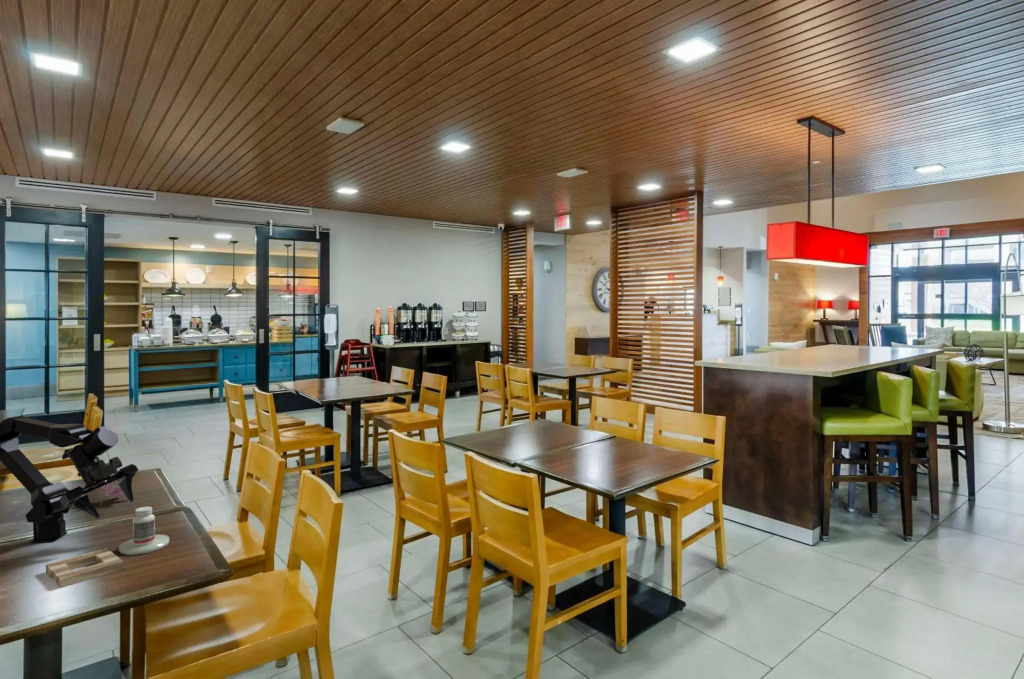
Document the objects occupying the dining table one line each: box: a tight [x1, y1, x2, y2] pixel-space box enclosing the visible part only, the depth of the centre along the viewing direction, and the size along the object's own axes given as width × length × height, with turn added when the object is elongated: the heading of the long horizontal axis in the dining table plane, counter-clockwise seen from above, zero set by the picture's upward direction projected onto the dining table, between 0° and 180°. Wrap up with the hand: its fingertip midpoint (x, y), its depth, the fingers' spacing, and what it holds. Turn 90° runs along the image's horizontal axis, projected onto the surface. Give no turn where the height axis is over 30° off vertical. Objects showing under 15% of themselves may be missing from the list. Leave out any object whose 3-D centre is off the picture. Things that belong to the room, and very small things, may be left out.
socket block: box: [45, 547, 124, 589], centre depth 142 cm, size 13×13×2 cm
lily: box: [99, 480, 129, 507], centre depth 194 cm, size 12×12×10 cm
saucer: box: [118, 534, 170, 556], centre depth 158 cm, size 12×12×1 cm
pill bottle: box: [131, 506, 156, 546], centre depth 157 cm, size 5×5×10 cm
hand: (115, 509), depth 160 cm, fingers open, 9 cm apart
